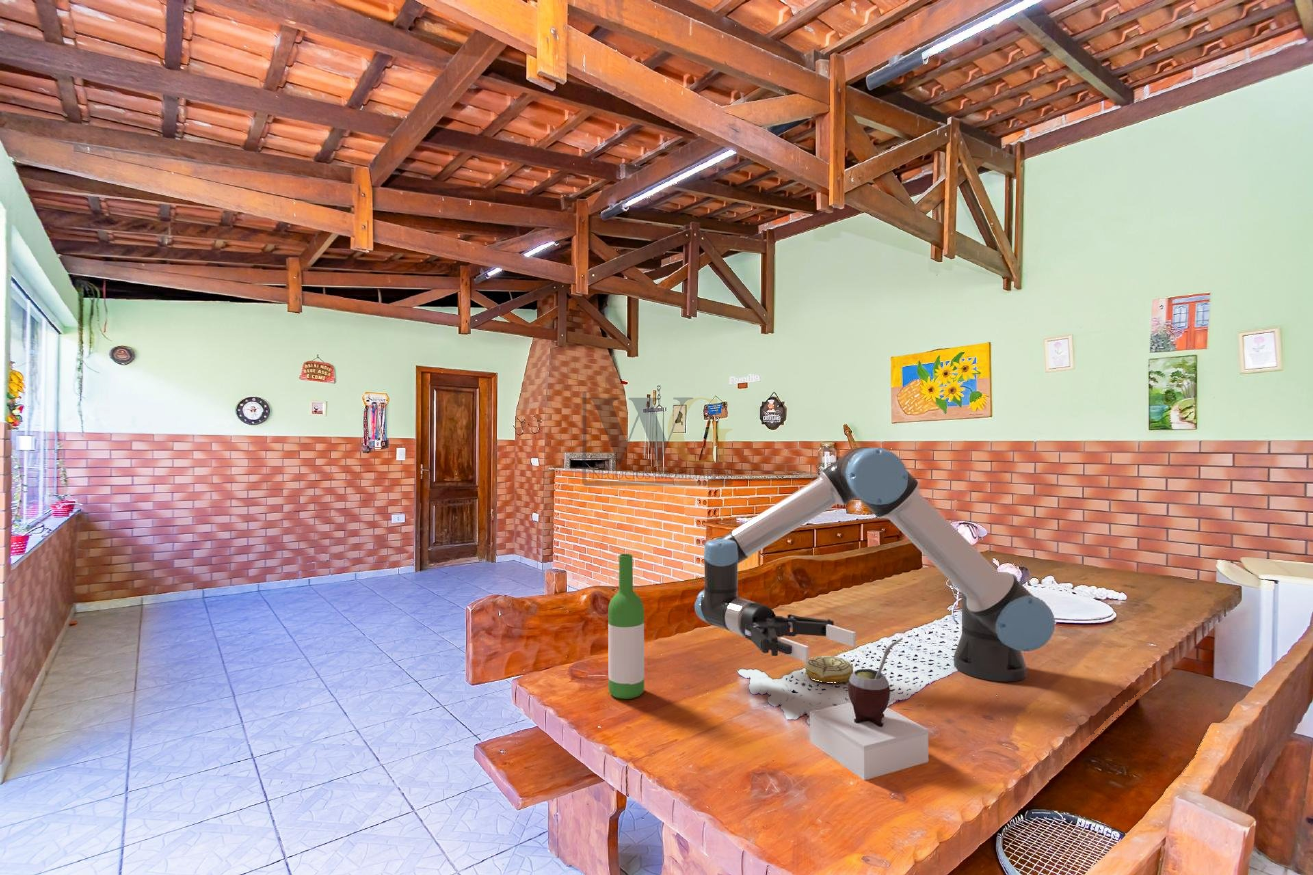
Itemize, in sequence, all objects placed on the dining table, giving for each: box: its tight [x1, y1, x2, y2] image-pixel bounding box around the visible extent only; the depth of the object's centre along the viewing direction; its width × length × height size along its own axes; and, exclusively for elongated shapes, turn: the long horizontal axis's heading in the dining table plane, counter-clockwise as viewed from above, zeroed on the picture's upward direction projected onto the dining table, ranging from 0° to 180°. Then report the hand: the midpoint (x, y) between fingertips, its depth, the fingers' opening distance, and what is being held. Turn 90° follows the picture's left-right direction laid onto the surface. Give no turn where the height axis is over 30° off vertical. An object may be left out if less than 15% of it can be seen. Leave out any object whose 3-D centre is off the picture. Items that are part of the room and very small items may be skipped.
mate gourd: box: [847, 637, 904, 727], centre depth 111 cm, size 8×8×15 cm
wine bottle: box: [607, 553, 645, 700], centre depth 136 cm, size 8×8×30 cm
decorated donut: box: [804, 655, 854, 684], centre depth 145 cm, size 10×11×4 cm
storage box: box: [809, 701, 929, 781], centre depth 111 cm, size 14×14×6 cm
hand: (831, 646), depth 118 cm, fingers open, 13 cm apart
